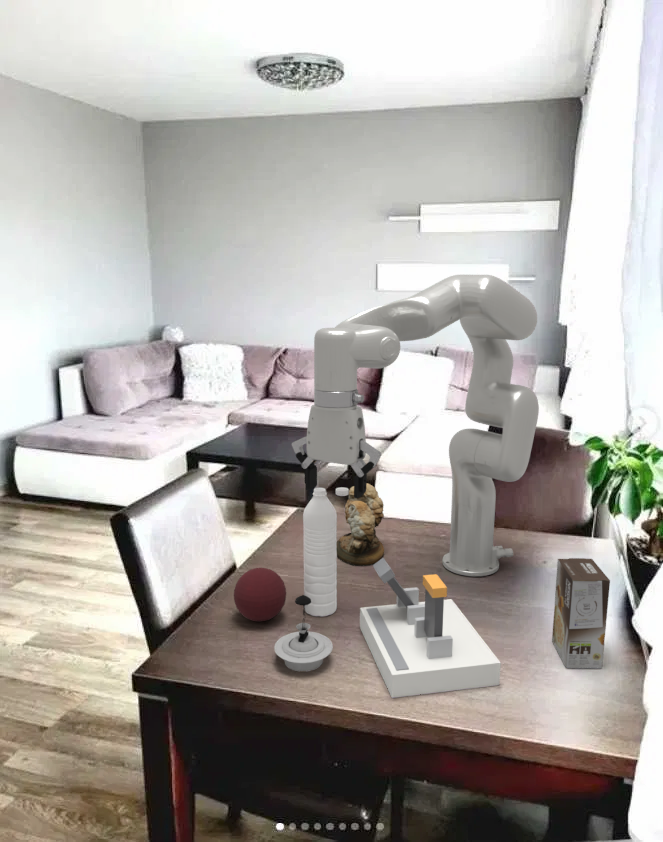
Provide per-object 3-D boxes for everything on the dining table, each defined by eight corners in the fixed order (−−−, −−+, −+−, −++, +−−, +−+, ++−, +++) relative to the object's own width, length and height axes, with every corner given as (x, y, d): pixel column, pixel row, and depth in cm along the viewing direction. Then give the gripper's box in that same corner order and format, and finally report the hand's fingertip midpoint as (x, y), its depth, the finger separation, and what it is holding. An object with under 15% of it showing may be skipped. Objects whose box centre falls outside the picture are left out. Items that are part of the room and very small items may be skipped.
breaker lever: (434, 634, 115) (436, 574, 113) (444, 649, 111) (447, 587, 108) (421, 635, 115) (423, 575, 113) (430, 651, 110) (432, 588, 108)
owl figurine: (331, 537, 170) (331, 472, 166) (377, 536, 171) (379, 471, 167) (338, 567, 152) (338, 495, 149) (389, 566, 153) (391, 494, 150)
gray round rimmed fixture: (323, 612, 107) (339, 585, 116) (264, 604, 110) (284, 578, 119) (323, 682, 110) (339, 649, 119) (265, 672, 112) (286, 641, 122)
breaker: (415, 600, 126) (383, 557, 123) (423, 613, 121) (390, 569, 118) (405, 607, 126) (372, 565, 123) (413, 621, 121) (379, 577, 118)
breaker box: (450, 618, 130) (452, 583, 128) (499, 685, 109) (501, 644, 107) (359, 627, 127) (360, 591, 125) (391, 698, 105) (392, 656, 104)
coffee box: (603, 669, 113) (612, 581, 110) (565, 668, 113) (572, 580, 110) (585, 640, 122) (592, 557, 119) (549, 639, 122) (556, 557, 119)
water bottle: (302, 616, 130) (300, 493, 125) (305, 600, 137) (304, 483, 131) (347, 618, 130) (347, 494, 125) (348, 602, 136) (349, 484, 131)
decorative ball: (294, 609, 133) (293, 562, 131) (274, 635, 124) (273, 584, 122) (247, 602, 136) (246, 556, 134) (225, 626, 127) (223, 577, 125)
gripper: (389, 399, 118) (387, 493, 121) (302, 391, 125) (303, 480, 129) (372, 406, 111) (370, 505, 115) (282, 398, 119) (283, 491, 122)
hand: (334, 492), depth 122 cm, fingers open, 9 cm apart
